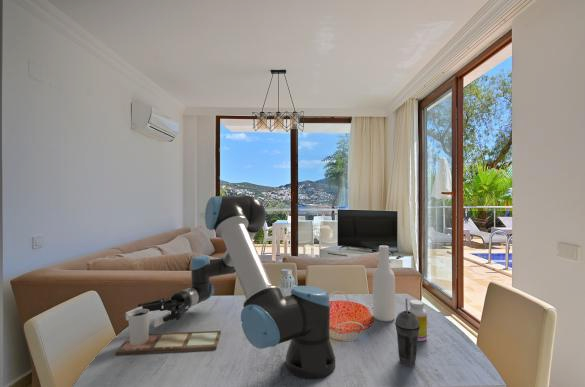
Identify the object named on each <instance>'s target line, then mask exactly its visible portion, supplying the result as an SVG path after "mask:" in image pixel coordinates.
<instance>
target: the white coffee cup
mask: <svg viewBox="0 0 585 387" xmlns="http://www.w3.org/2000/svg"><path fill="white" fill-rule="evenodd" d="M130 311H131V310H130ZM150 312H151V311H149V310H148V309H138V310H134V311H131V312H130V313H129V314H128V319H129V320H128V332H129V334H128V335H129V337H130V344H131V345H141V344H144V343H146V342H147V341H148V338H149V334H150V333H149V332H150V314H151V313H150Z"/></svg>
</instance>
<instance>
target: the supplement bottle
mask: <svg viewBox="0 0 585 387" xmlns="http://www.w3.org/2000/svg"><path fill="white" fill-rule="evenodd" d="M424 306H425V304H424V301H422V300H419V299H411V300H409V307H408V311H409V312H412V313H413V314H414V315H415V316H416V317H417V318H418V321H419V325H420V328H419V333H418V339H417V342H424V341H426V340H427V339H428V312H427V310H426V309H425V308H424Z"/></svg>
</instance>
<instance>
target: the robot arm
mask: <svg viewBox="0 0 585 387" xmlns="http://www.w3.org/2000/svg"><path fill="white" fill-rule="evenodd" d="M204 211H205V212H204V223H205V227H206V228H207V230H209V231H215V232H214V233H215V234H216V236H217V238H219V239H221V240H223V242H224V244H225V247H226V250H225V252H224V254H223V256H222V257H221V258H214V259H213V258H212V259H210V256H208V255H197V256H194V257H193V258H192V259H191V263H190V264H191V266H190V270H191V271H190V273H191V274H190V275H191V277H190V278H191V279H190V280H191V285H190V287H188V288H185V289H183V290H181V291H178V292H175V293H174V294H172V296H171V297H170V299H166V300H165V298H160V299H157V300H152V301H148V302H143V303H138V304H137V307H135V308H134V309H130V310H129V311H126V312H125V321H129V319H128V314H129V313H130V312H131V311H134V310H138V309H148V310H149V311H150V312H154V311H155V312H156V311H160V312H164V311H168V312H166V313H164V314H161V315H159V316H157V317H155V318H153V328H157V327H159V326H161V325H162V324H165V323H166V322H168V321H171V320H172V321H173V320H175V319H176V321H179V320H181V318H182V317H183V316H184V314H185V312H188V311H189V309H191V307H194V306H195V305H197V304H200V303H202V302H204V301H206V300H209V299H210V298H211V297H213V295H214V294H215V287H214V284H213V282H211V281H210V278H212V277H218V276H219V277H220V276H226V275H232V274H233V275H234V274H235V273H236V276H237V278H238V279H237V280H238V281H239V283H240V287H241V290H242V291H243V295H244V297H245V299H244V301H243V303H242V304H243V305H242V306H243V308H242V310H241V313H240V322H241V328H242V331H243V333H244V337H245V338H246V339H247V340H248V342H249V344H251V345H252V346H253V347H255V348H257V349H261V350H262V349H263V350H264V349H268V348H271V347H272V348H273V347H276V346H277V345H279V344H282V343H286V342H288V341H289V345H288V349H287V351H286V354H285V367H286V369H287V370H288V371H289V373H291V374H293V375H294V376H296V377H299V378H304V379H309V380H310V379H320V378H324V377H326V376H329V375H331V374H332V373H333V372H334V371H335V369H336V356H335V352H334V349H333V347H332V343H331V339H330V320H331V318H330V315H331V314H330V313H331V312H330V310H331V308H330V307H331V304H330V295H329V292H327V291H326V290H324V289H322V288H319V287H316V286H310V285H309V286H308V285H296V286H293V287H292V288H291V289H290V290H291V291H290V294H289V295H286V296H284V295H283V293H282V291H281V288H280V287H278V286H276V285H274V284H272V282H271V281H272V280H271V279H270V277H269V275H268V272H267V270H266V268H265V265H264V264H263V262H262V259H261V257H260V255H259V253H258V250H257V249H256V246H255V244H254V241H253V239H254V237H255V236H256V234H259V232H261V231H262V230H263V229H262V228H263V227H264V226H265V223H266V219H267V212H266V208H265V206H264V205H263V203H262V202H261V201H260V200H259V199H258V198H256V197H255V196H251V195H219V196H218V195H217V196H212V197H210V198H209V199H208V200H207V202H206V206H205V210H204Z"/></svg>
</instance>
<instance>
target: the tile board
mask: <svg viewBox="0 0 585 387" xmlns="http://www.w3.org/2000/svg"><path fill="white" fill-rule="evenodd" d="M221 333H222V330H207V331H202V330H201V331H186V332H168V333H167V332H166V333H165V332H164V333H163V332H161V333H149V338H148V341H147V342H146V343H144V344H141V345H131V344H130V336H129V337H128V338H126V340H125V341H124V342H122V344H121V345H120V346H119V348H118V349H117V350H116V351H115V356H123V355H124V356H126V355H141V354H142V355H143V354H144V355H145V354H162V353H177V352H178V353H180V352H195V351H196V352H197V351H198V352H199V351H201V352H202V351H215V350H217V348H218V344H219V341H220V337H221Z"/></svg>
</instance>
